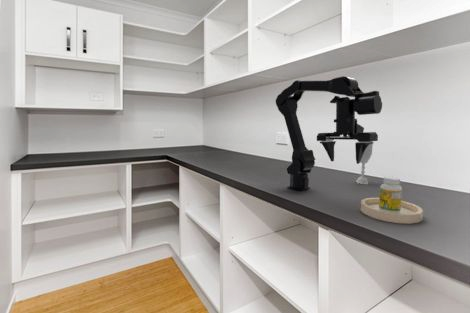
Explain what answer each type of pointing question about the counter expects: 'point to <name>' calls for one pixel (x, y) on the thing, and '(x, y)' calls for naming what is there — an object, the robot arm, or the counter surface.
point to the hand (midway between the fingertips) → (344, 162)
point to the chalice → (364, 160)
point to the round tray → (406, 214)
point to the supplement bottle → (390, 195)
